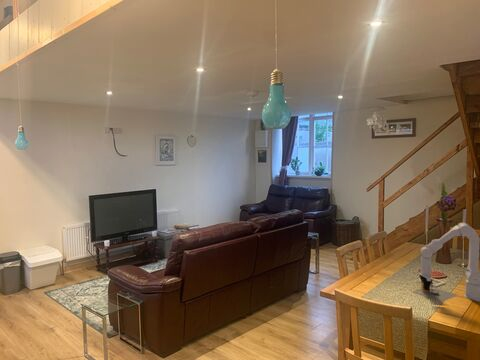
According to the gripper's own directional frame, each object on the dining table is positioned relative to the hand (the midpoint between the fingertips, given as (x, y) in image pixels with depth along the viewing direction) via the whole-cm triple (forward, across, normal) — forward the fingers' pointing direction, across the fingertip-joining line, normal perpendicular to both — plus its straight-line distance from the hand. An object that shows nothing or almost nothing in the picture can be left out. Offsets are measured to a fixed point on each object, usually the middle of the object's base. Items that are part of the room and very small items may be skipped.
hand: (425, 288), depth 222 cm
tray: (+2, -16, +8) cm, 18 cm away
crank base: (+2, +4, +4) cm, 6 cm away
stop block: (+1, 0, 0) cm, 1 cm away
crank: (+1, 0, +4) cm, 4 cm away
